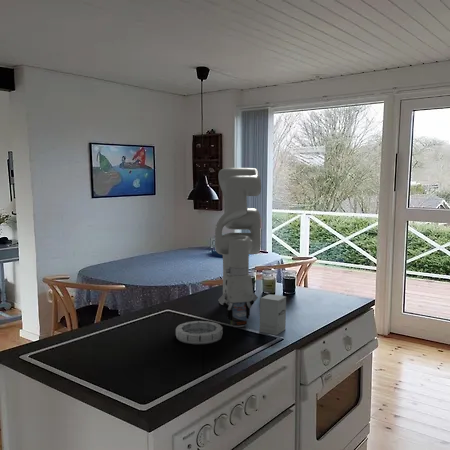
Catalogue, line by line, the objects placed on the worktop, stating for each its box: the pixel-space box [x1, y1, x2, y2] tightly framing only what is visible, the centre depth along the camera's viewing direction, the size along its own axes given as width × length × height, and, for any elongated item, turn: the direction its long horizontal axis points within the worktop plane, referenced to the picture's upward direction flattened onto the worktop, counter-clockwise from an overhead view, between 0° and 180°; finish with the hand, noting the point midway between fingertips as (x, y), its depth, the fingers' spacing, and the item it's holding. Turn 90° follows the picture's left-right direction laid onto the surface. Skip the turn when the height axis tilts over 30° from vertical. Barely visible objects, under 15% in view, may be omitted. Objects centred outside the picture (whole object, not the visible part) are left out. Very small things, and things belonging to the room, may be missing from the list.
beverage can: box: [230, 302, 248, 328], centre depth 171 cm, size 6×7×12 cm
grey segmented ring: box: [175, 320, 224, 345], centre depth 160 cm, size 16×16×3 cm
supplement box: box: [259, 294, 287, 336], centre depth 166 cm, size 7×7×13 cm
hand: (238, 318), depth 172 cm, fingers closed on beverage can, 6 cm apart
